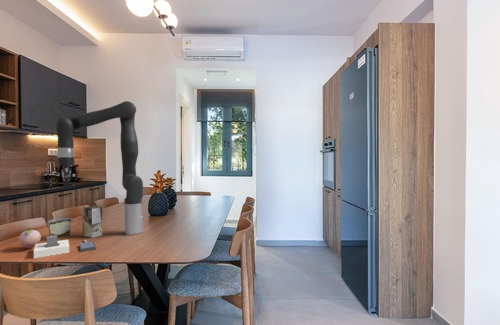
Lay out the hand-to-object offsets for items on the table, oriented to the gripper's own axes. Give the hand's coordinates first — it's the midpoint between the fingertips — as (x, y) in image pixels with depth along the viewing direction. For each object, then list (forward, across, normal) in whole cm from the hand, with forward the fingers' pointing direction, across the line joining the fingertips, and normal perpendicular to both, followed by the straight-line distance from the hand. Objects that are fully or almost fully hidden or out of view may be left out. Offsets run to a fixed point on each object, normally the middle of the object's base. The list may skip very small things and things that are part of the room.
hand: (66, 187), depth 149 cm
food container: (+28, +11, +4) cm, 31 cm away
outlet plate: (+28, -16, +6) cm, 33 cm away
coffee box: (+28, +4, -12) cm, 31 cm away
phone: (+28, -15, -7) cm, 33 cm away
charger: (+28, -16, +6) cm, 33 cm away
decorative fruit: (+28, -4, +15) cm, 32 cm away
